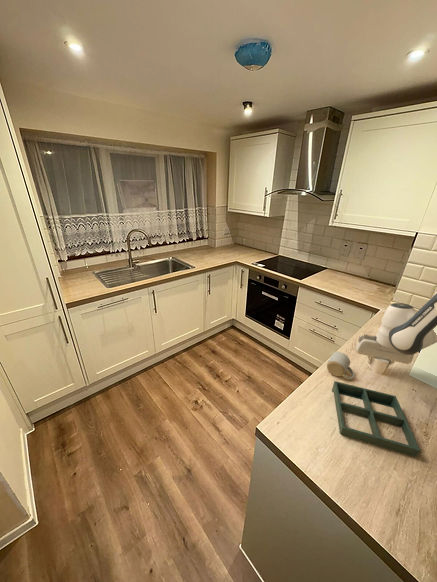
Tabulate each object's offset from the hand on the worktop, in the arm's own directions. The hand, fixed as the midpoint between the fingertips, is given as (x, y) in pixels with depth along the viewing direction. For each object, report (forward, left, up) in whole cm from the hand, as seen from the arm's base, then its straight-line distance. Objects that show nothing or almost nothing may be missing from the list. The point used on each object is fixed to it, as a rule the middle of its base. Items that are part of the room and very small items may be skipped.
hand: (377, 365), depth 102 cm
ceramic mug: (+16, +8, -2) cm, 18 cm away
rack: (+10, +30, -2) cm, 32 cm away
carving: (-13, -36, -2) cm, 38 cm away
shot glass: (0, 0, -2) cm, 2 cm away
